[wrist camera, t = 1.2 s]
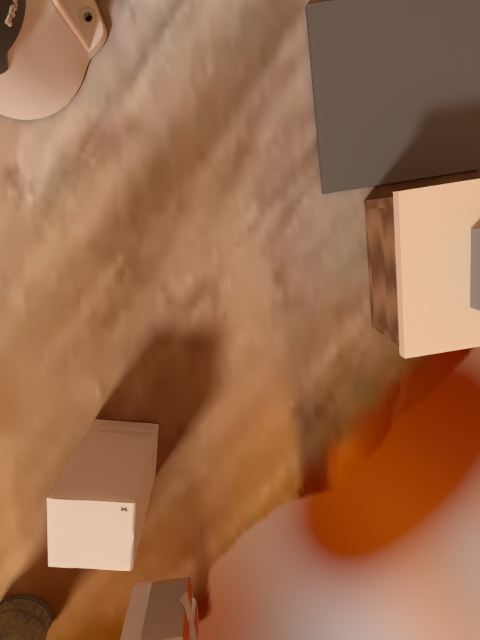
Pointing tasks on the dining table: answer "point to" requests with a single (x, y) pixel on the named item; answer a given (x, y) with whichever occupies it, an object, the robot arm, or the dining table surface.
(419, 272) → the lid panel
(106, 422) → the supplement box
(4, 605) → the thermos
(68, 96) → the robot arm
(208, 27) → the dining table surface
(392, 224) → the crate
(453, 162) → the mat
